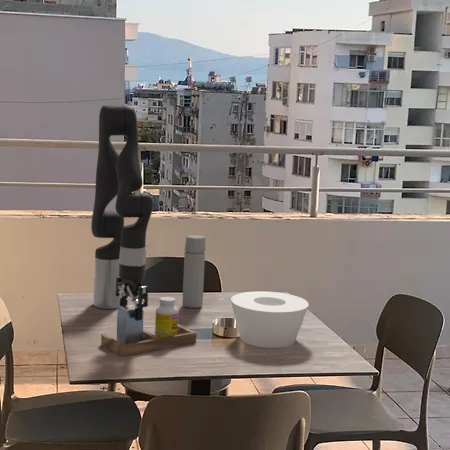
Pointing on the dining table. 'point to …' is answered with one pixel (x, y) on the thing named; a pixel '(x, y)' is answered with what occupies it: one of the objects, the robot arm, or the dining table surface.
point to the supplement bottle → (166, 318)
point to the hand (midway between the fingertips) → (130, 316)
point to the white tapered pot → (268, 318)
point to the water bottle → (194, 271)
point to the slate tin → (128, 325)
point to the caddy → (150, 342)
